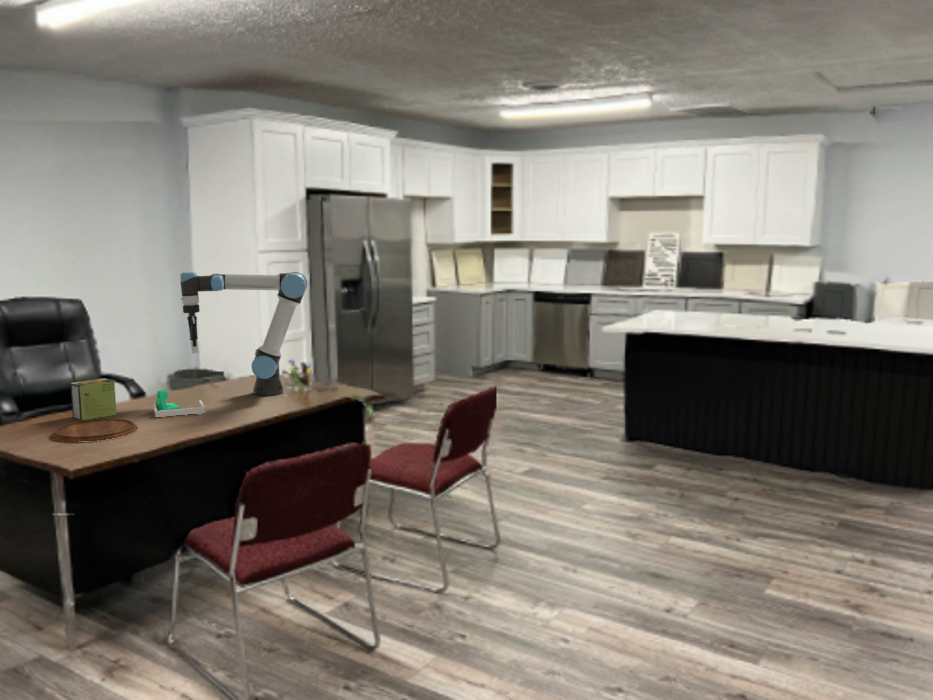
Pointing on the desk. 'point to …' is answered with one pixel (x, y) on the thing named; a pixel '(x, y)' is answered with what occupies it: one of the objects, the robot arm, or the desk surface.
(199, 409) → the housing frame
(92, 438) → the cutting board
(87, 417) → the protein box
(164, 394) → the camera mount
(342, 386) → the desk surface
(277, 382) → the robot arm
